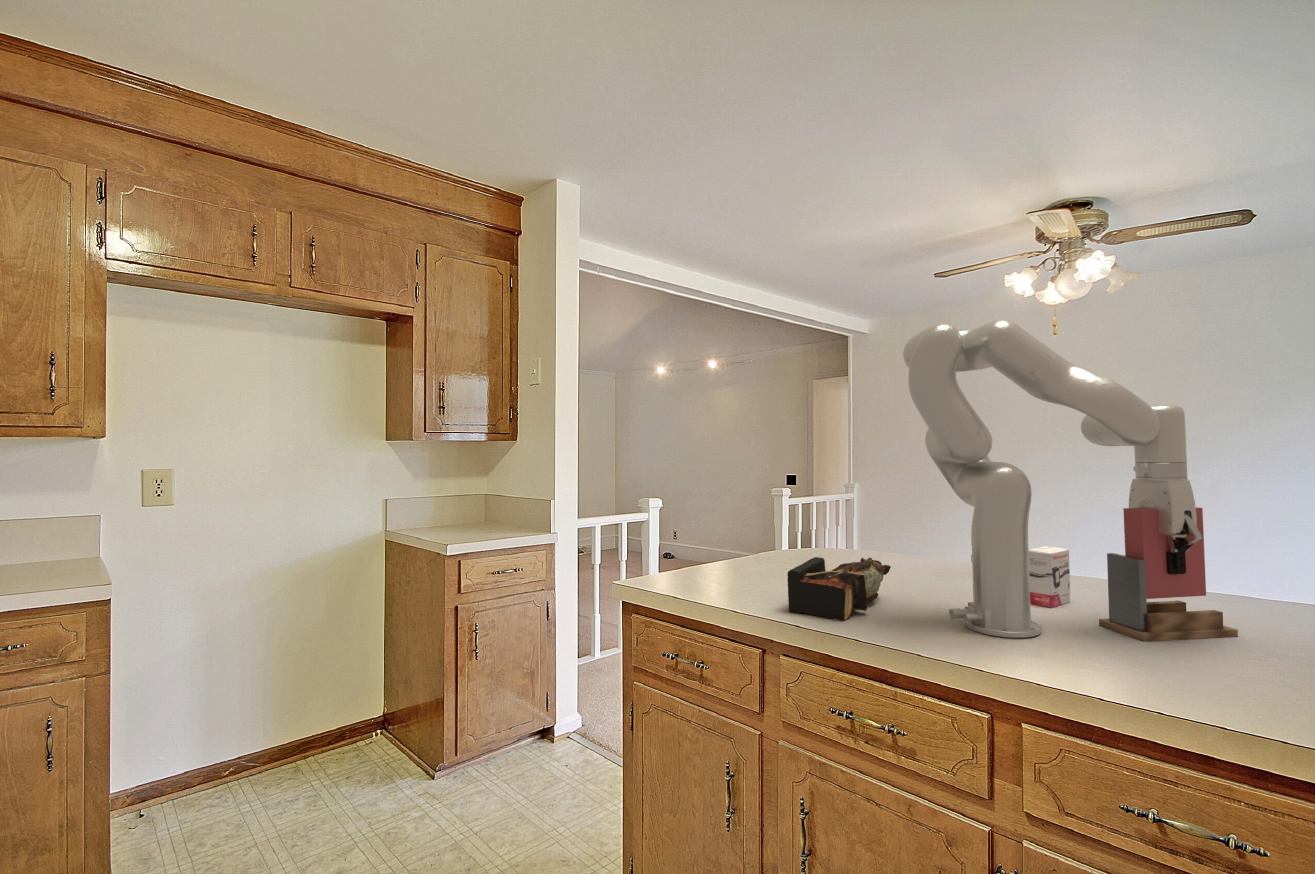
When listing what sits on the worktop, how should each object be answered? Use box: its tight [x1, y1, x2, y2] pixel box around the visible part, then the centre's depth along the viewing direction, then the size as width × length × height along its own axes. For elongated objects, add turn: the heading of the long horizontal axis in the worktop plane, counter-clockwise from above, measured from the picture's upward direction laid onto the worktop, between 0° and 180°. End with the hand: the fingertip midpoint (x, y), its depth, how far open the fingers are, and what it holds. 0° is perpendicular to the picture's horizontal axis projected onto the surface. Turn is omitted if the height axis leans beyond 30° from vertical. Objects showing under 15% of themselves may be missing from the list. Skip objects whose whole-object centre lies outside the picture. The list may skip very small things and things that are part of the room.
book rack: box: [1098, 600, 1239, 642], centre depth 115 cm, size 18×10×4 cm, turn 95°
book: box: [1122, 506, 1207, 600], centre depth 115 cm, size 12×4×16 cm, turn 95°
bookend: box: [787, 556, 891, 622], centre depth 139 cm, size 15×11×25 cm
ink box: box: [1029, 545, 1071, 609], centre depth 137 cm, size 8×5×12 cm, turn 123°
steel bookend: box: [1106, 552, 1148, 632], centre depth 115 cm, size 1×7×14 cm, turn 5°
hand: (1164, 570), depth 115 cm, fingers closed on book, 4 cm apart
